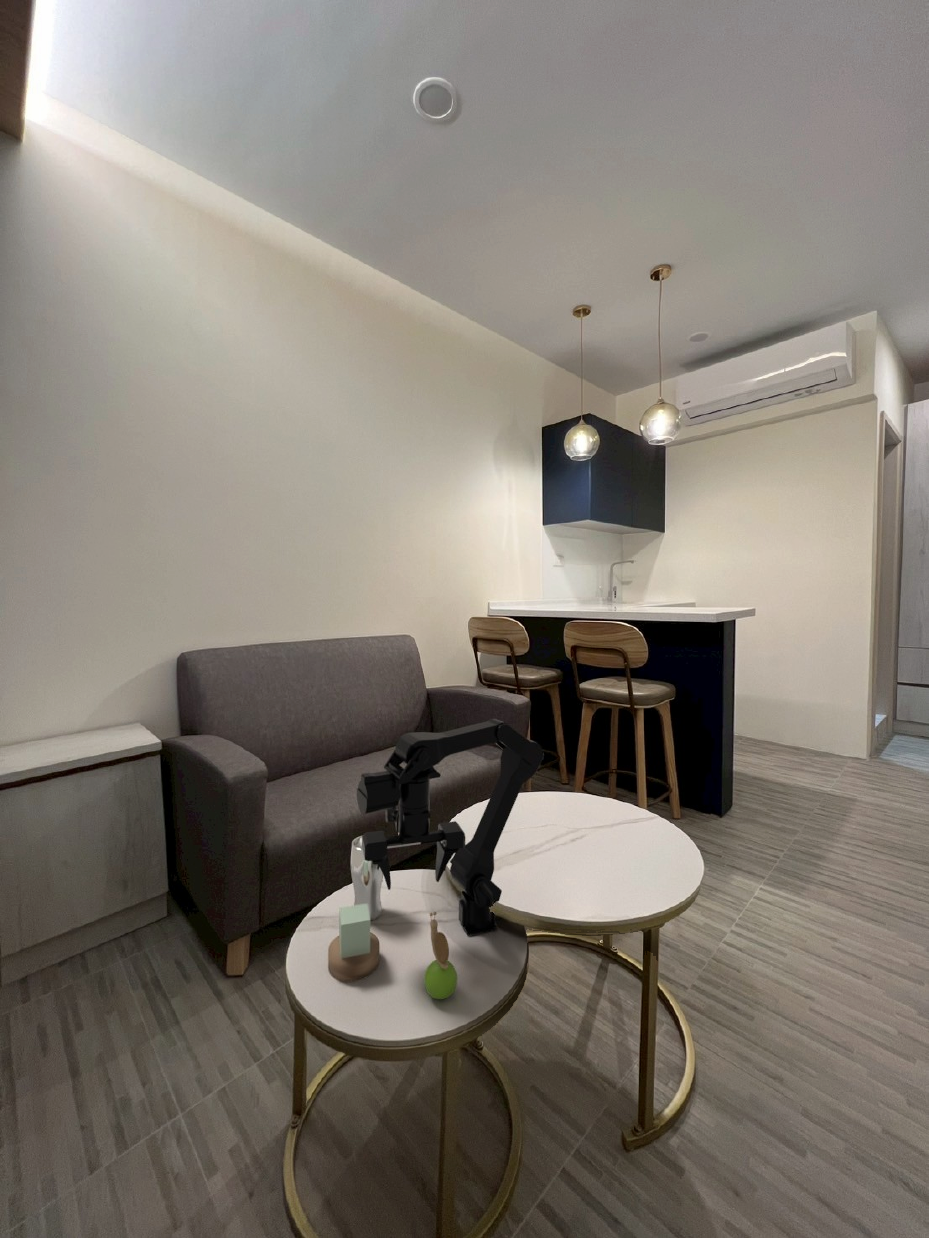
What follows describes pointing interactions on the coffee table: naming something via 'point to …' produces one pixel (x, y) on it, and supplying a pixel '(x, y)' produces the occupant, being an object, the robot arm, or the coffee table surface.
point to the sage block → (354, 930)
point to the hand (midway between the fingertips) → (413, 884)
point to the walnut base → (353, 961)
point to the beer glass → (366, 880)
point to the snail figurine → (440, 966)
